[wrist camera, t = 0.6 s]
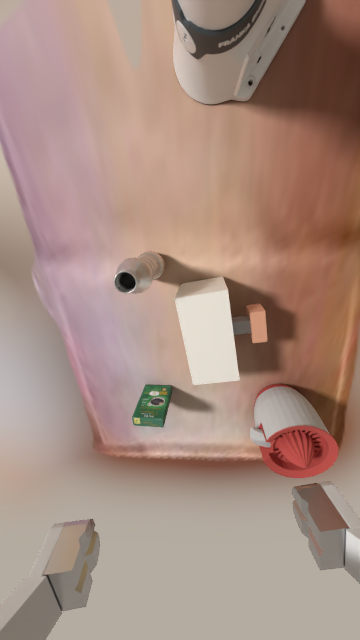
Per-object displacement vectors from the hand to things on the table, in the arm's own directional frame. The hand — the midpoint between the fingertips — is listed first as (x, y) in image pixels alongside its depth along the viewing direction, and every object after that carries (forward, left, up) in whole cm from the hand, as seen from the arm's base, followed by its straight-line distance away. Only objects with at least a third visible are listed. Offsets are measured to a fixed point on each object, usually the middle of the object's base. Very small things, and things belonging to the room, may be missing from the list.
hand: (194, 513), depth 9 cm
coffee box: (+32, +14, -49) cm, 60 cm away
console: (+6, +8, -49) cm, 50 cm away
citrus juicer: (+10, +39, -49) cm, 63 cm away
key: (+1, +12, -44) cm, 46 cm away
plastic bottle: (+6, -11, -49) cm, 50 cm away
